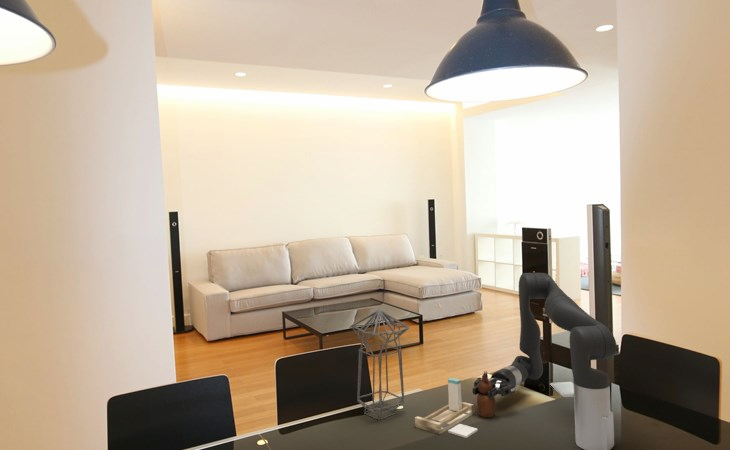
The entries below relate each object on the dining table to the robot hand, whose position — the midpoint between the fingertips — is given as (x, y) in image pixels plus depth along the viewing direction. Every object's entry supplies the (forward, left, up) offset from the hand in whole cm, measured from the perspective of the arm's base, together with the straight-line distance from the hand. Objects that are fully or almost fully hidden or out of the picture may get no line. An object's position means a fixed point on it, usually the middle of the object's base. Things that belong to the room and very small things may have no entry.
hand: (481, 393), depth 166 cm
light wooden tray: (+9, +8, -8) cm, 14 cm away
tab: (+9, +2, -7) cm, 11 cm away
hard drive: (-12, -40, -9) cm, 42 cm away
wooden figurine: (0, -3, -8) cm, 9 cm away
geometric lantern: (+28, +16, -8) cm, 34 cm away
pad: (0, +12, -8) cm, 15 cm away
